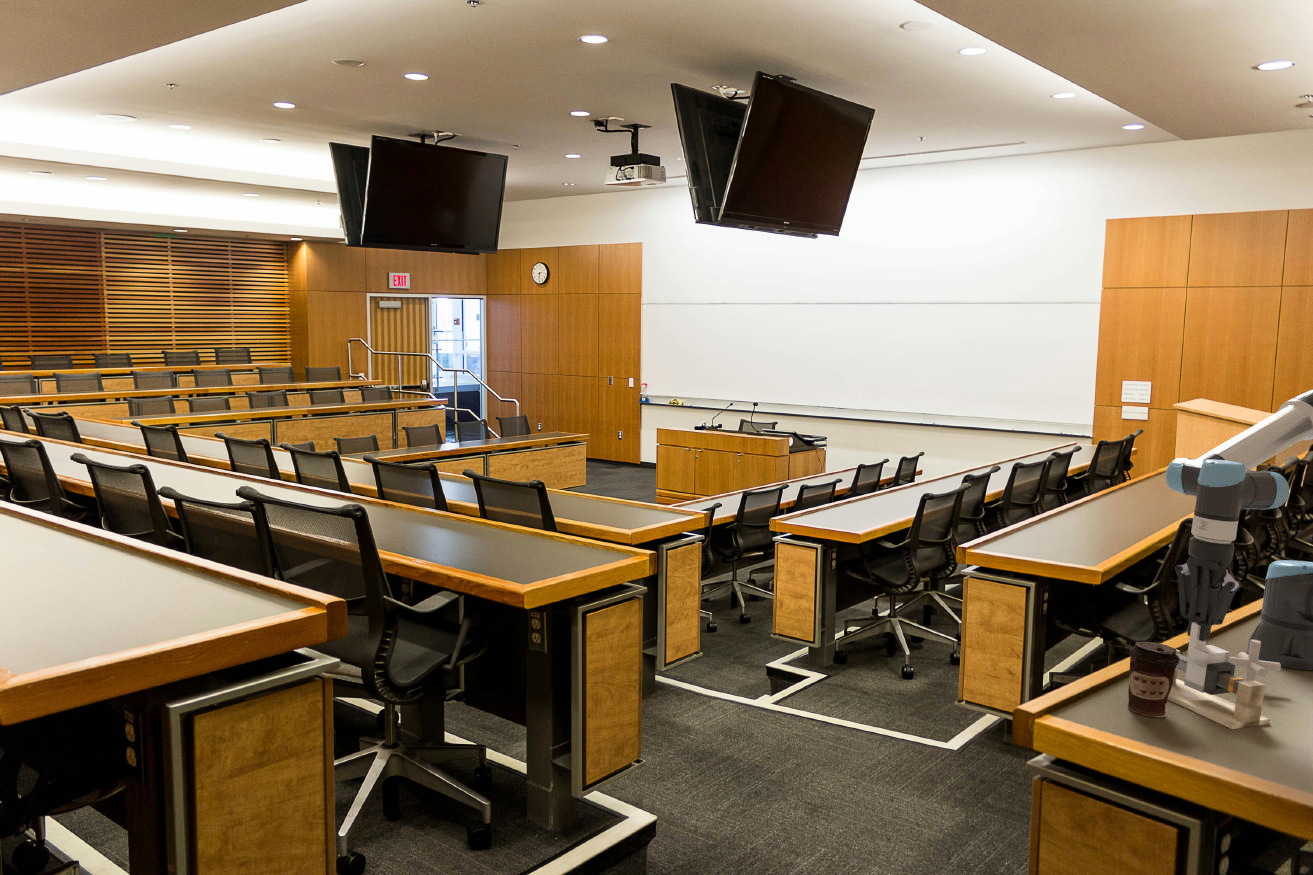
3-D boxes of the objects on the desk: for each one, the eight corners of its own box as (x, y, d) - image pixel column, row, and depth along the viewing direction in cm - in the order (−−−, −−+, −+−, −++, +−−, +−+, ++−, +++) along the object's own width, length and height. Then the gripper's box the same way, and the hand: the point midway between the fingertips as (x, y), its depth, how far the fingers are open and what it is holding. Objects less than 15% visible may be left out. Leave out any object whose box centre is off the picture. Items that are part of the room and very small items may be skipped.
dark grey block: (1223, 689, 181) (1227, 661, 180) (1231, 692, 180) (1235, 664, 179) (1203, 691, 179) (1207, 663, 178) (1210, 694, 178) (1214, 666, 177)
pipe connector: (1286, 699, 188) (1293, 652, 187) (1232, 692, 190) (1239, 645, 189) (1264, 681, 198) (1271, 636, 197) (1213, 674, 200) (1220, 630, 199)
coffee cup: (1171, 725, 171) (1180, 658, 169) (1121, 713, 175) (1130, 647, 173) (1171, 709, 179) (1180, 645, 177) (1123, 698, 183) (1132, 635, 181)
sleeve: (1205, 682, 185) (1211, 644, 184) (1224, 690, 181) (1230, 651, 180) (1184, 684, 183) (1189, 646, 182) (1202, 692, 179) (1208, 653, 178)
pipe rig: (1176, 683, 193) (1181, 646, 192) (1269, 723, 175) (1275, 683, 174) (1141, 687, 190) (1146, 649, 189) (1232, 728, 171) (1238, 687, 170)
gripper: (1169, 531, 186) (1153, 644, 188) (1229, 547, 173) (1211, 668, 176) (1196, 530, 188) (1180, 642, 191) (1257, 546, 176) (1239, 665, 179)
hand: (1195, 654), depth 184 cm, fingers closed
